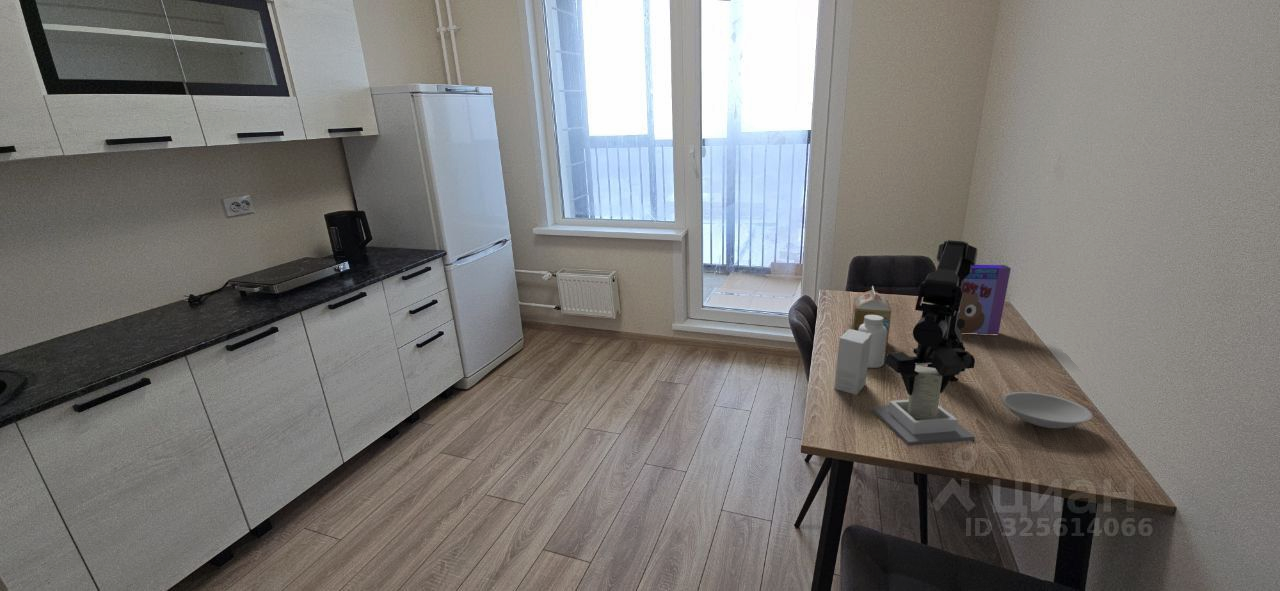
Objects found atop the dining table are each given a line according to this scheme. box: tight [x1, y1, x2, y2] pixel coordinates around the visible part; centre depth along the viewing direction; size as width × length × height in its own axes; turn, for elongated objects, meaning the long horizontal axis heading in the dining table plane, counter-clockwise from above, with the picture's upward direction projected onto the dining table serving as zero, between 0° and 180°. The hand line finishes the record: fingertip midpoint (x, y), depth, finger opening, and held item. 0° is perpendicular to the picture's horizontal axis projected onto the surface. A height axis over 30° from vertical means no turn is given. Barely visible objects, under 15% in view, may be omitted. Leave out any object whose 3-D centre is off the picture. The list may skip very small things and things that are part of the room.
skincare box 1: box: [833, 328, 872, 396], centre depth 144 cm, size 8×7×16 cm
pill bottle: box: [858, 315, 887, 369], centre depth 158 cm, size 8×8×15 cm
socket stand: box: [871, 399, 976, 447], centre depth 126 cm, size 16×16×4 cm
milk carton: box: [850, 285, 892, 353], centre depth 171 cm, size 11×11×19 cm
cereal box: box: [957, 264, 1011, 335], centre depth 179 cm, size 17×5×24 cm, turn 80°
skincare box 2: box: [907, 365, 942, 420], centre depth 124 cm, size 6×4×12 cm
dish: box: [1000, 391, 1094, 429], centre depth 124 cm, size 18×14×5 cm
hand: (924, 393), depth 124 cm, fingers closed on skincare box 2, 7 cm apart
